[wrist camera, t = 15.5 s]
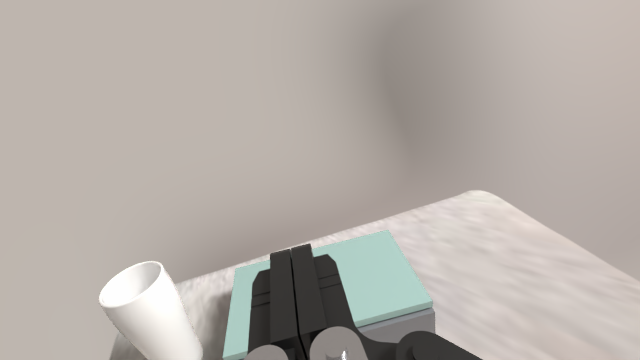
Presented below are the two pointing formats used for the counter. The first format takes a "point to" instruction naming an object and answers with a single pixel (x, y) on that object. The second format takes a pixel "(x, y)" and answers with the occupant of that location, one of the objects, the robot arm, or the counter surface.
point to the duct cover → (358, 282)
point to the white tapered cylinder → (151, 313)
